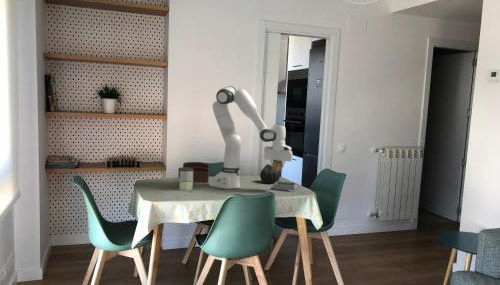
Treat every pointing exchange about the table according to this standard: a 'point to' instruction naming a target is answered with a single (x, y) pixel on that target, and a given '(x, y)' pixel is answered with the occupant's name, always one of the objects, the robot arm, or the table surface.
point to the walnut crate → (277, 165)
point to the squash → (269, 174)
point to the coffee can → (185, 178)
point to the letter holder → (199, 171)
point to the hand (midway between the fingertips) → (277, 166)
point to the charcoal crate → (285, 185)
